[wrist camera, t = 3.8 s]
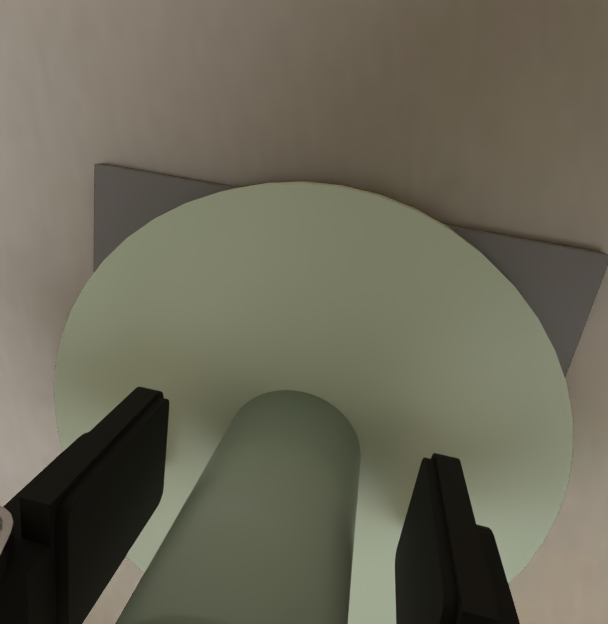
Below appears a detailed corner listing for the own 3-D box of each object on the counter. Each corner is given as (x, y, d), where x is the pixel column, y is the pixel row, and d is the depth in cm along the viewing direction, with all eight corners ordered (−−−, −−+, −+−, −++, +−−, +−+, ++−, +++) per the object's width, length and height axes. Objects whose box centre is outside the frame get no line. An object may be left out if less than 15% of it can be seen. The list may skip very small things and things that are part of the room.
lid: (75, 138, 11) (-342, 115, 5) (644, 237, 10) (1122, 388, 4) (77, 553, 16) (-144, 839, 9) (475, 659, 14) (552, 1081, 8)
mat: (103, 163, 12) (94, 164, 12) (602, 252, 11) (611, 256, 10) (97, 536, 16) (91, 546, 15) (462, 632, 15) (464, 644, 14)
